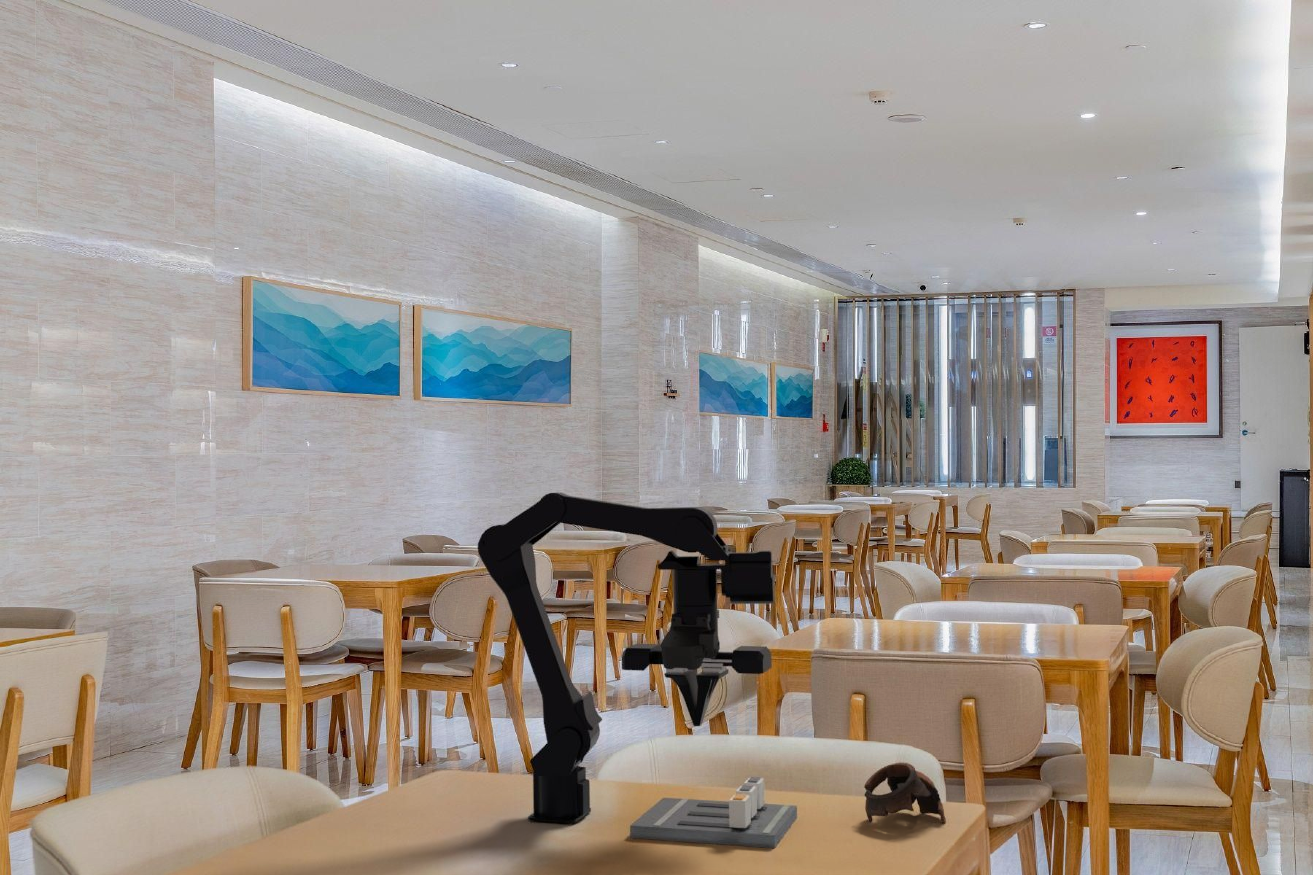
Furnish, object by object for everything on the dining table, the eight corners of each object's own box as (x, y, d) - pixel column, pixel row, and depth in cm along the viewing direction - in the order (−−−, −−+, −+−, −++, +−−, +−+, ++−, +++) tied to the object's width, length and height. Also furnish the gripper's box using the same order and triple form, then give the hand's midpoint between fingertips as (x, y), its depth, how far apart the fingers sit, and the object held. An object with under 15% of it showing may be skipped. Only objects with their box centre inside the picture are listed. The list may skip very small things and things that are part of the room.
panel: (630, 837, 154) (630, 824, 154) (663, 808, 167) (663, 796, 168) (774, 847, 149) (774, 834, 149) (797, 817, 162) (796, 804, 162)
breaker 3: (729, 826, 152) (728, 798, 152) (734, 820, 154) (734, 792, 154) (745, 827, 151) (745, 799, 151) (750, 821, 154) (750, 793, 154)
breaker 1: (744, 807, 160) (744, 781, 160) (749, 802, 163) (749, 776, 163) (759, 808, 160) (759, 781, 160) (764, 803, 162) (764, 776, 162)
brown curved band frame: (958, 834, 155) (928, 780, 154) (889, 866, 156) (859, 813, 155) (939, 786, 167) (911, 735, 165) (875, 816, 168) (847, 766, 167)
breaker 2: (736, 817, 156) (735, 789, 156) (741, 811, 159) (740, 784, 159) (752, 818, 155) (751, 790, 155) (756, 812, 158) (756, 785, 158)
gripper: (606, 609, 158) (608, 734, 157) (752, 611, 152) (754, 741, 152) (634, 601, 169) (636, 718, 168) (771, 602, 163) (773, 724, 162)
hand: (697, 725), depth 162 cm, fingers closed
